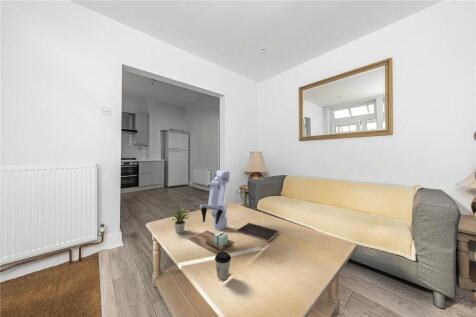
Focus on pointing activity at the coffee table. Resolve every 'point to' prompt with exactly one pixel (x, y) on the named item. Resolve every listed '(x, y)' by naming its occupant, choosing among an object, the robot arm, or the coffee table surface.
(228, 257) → the coffee cup
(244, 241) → the coffee table surface
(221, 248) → the shelf
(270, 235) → the hardcover book
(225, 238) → the sage block
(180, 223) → the house plant
